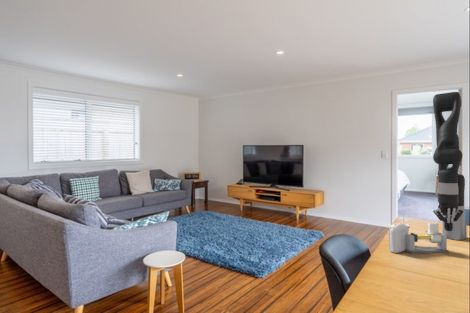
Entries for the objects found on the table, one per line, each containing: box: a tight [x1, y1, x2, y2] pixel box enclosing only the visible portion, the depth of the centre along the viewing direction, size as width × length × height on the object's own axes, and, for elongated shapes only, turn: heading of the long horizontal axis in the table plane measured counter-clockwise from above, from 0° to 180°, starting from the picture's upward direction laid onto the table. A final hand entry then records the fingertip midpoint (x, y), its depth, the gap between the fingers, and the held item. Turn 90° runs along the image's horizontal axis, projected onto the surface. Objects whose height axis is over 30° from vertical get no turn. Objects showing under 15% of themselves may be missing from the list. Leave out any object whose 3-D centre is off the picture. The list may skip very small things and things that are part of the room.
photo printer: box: [388, 222, 407, 254], centre depth 131 cm, size 10×4×12 cm, turn 124°
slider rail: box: [404, 232, 449, 255], centre depth 129 cm, size 17×5×8 cm, turn 93°
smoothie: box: [401, 215, 411, 234], centre depth 139 cm, size 6×6×14 cm
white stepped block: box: [425, 222, 442, 244], centre depth 130 cm, size 4×4×8 cm
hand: (448, 230), depth 130 cm, fingers closed
